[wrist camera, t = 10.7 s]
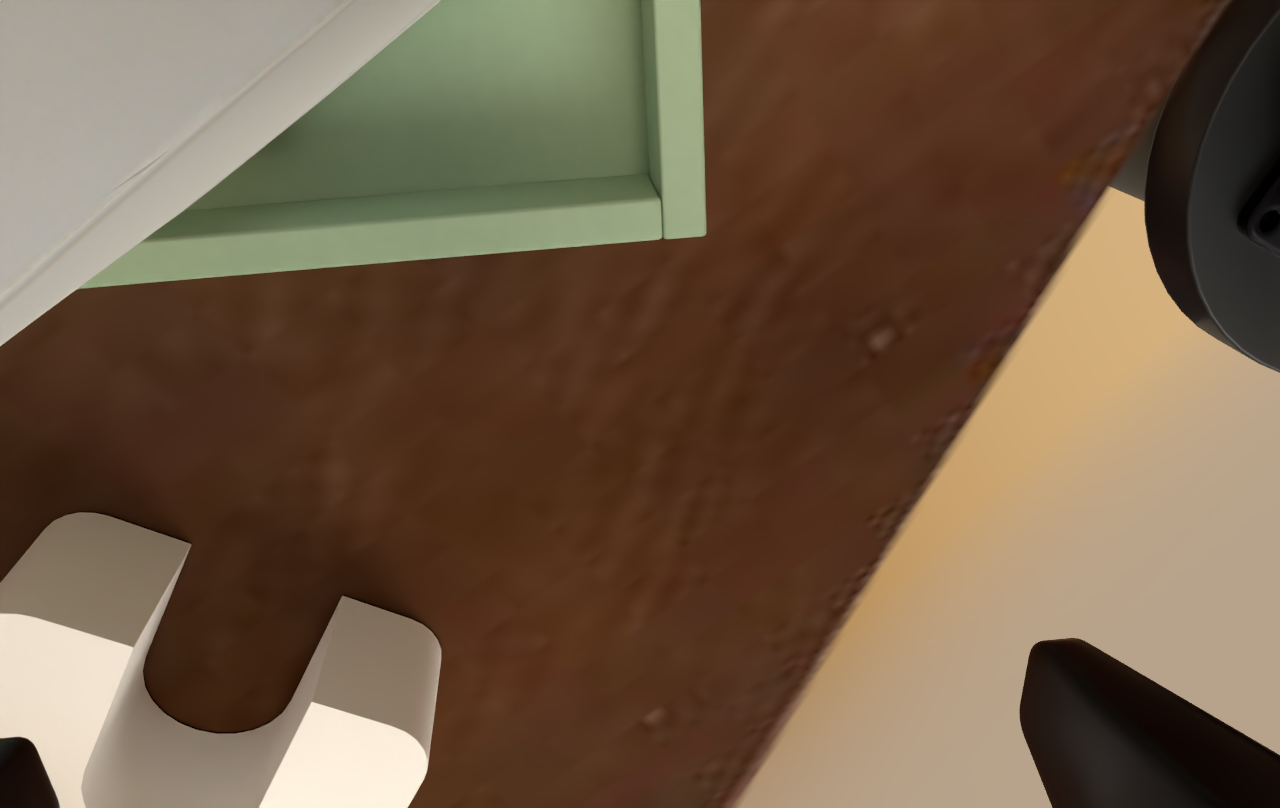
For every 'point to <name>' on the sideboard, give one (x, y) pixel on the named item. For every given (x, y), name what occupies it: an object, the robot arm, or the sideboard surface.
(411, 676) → the white slotted holder
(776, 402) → the sideboard surface
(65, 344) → the sideboard surface
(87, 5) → the small box
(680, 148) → the tray
